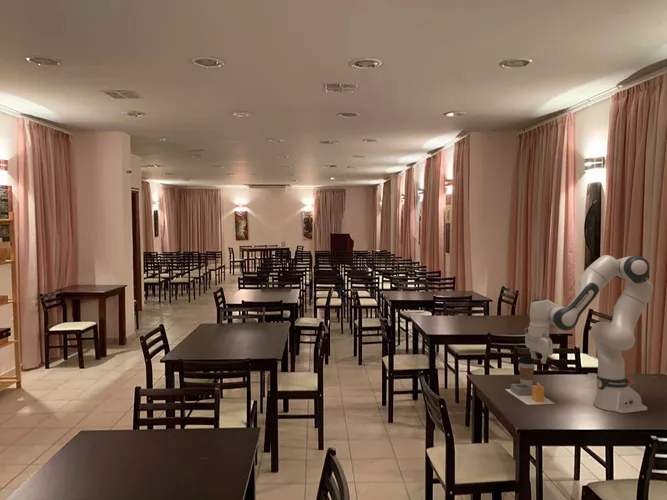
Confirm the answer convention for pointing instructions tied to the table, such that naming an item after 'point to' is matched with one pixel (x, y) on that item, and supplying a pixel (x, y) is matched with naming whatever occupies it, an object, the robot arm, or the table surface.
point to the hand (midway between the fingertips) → (538, 360)
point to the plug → (538, 393)
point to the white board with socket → (525, 394)
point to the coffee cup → (526, 370)
